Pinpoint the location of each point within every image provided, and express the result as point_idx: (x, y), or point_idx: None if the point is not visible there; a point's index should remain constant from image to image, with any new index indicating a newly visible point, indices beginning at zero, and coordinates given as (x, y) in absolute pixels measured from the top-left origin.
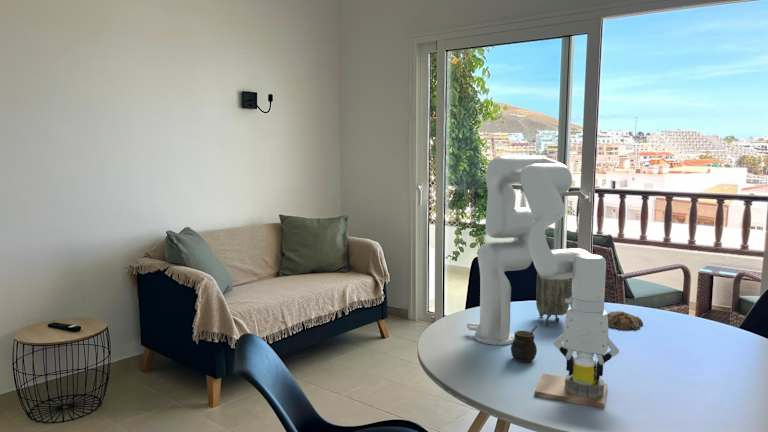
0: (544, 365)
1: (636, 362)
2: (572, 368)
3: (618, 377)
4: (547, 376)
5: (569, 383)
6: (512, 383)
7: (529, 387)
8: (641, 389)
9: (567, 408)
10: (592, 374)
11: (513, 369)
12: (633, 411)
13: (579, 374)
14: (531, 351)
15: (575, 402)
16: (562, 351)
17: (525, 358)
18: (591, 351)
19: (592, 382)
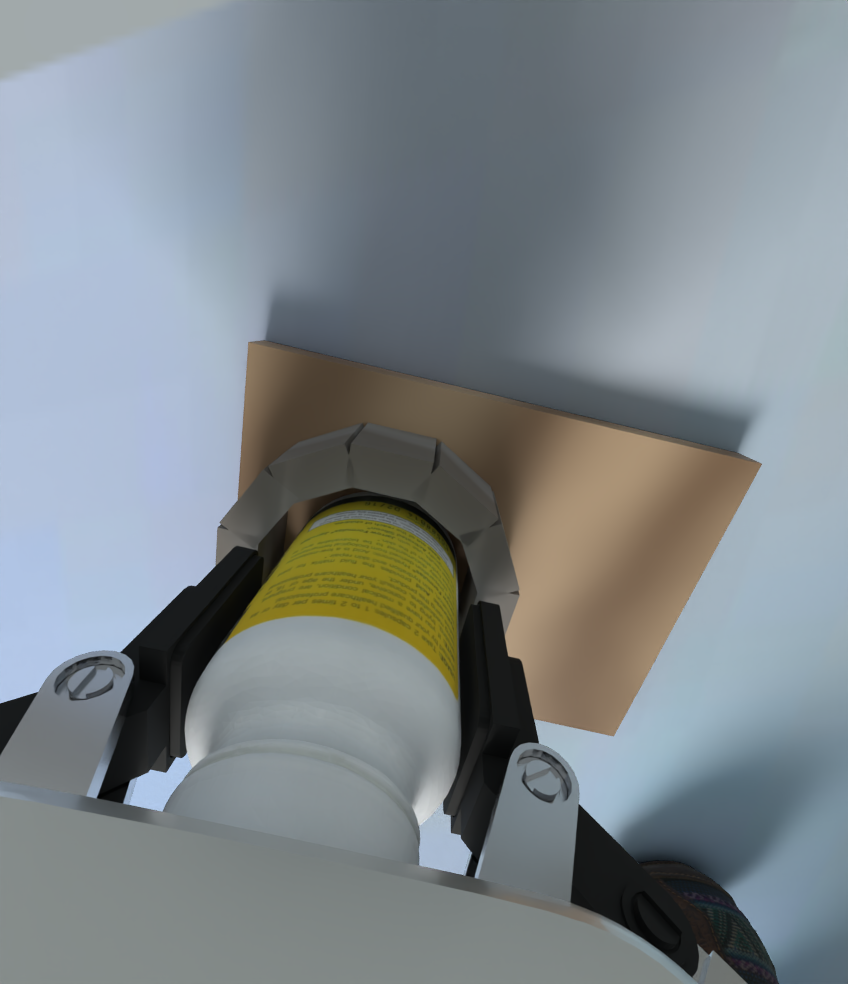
0: None
1: None
2: (463, 670)
3: (183, 760)
4: (591, 702)
5: (498, 516)
6: (833, 617)
7: (729, 578)
8: (61, 649)
9: (531, 281)
10: (276, 575)
11: (753, 787)
12: (75, 338)
13: (407, 571)
14: None
15: (457, 386)
16: (638, 890)
17: (675, 886)
18: (83, 853)
19: (301, 537)
